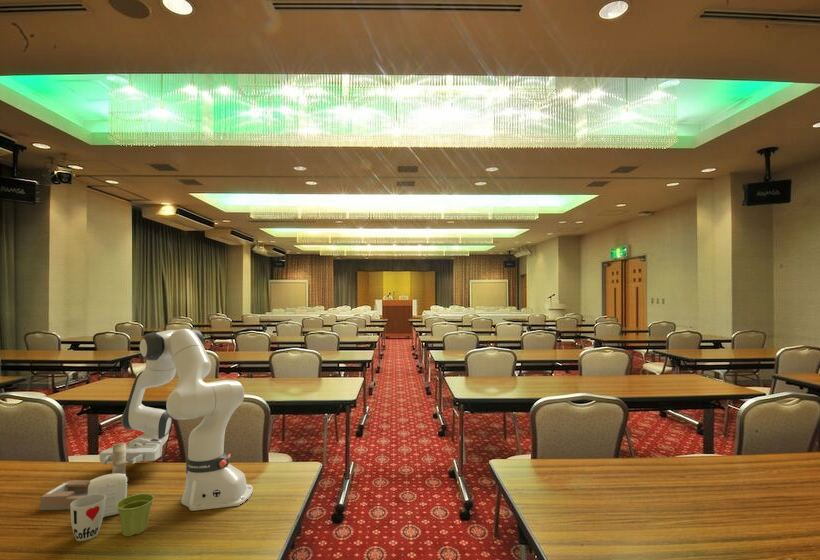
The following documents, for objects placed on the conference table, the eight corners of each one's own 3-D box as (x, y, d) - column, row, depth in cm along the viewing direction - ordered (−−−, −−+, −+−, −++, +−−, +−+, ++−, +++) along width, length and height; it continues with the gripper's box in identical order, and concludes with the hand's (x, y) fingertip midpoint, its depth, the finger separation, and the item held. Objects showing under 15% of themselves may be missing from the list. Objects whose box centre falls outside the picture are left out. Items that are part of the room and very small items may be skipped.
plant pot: (160, 523, 128) (161, 494, 128) (136, 541, 119) (137, 510, 119) (133, 521, 129) (134, 492, 130) (106, 538, 120) (107, 507, 120)
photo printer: (126, 507, 138) (127, 468, 138) (126, 513, 134) (127, 473, 134) (86, 516, 132) (88, 476, 132) (85, 522, 128) (87, 481, 129)
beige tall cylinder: (132, 479, 158) (132, 441, 159) (122, 486, 152) (123, 447, 153) (115, 479, 158) (115, 442, 158) (105, 487, 152) (105, 447, 152)
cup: (64, 546, 116) (66, 509, 116) (74, 531, 123) (75, 496, 124) (100, 540, 119) (101, 504, 119) (107, 525, 126) (108, 491, 127)
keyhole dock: (115, 491, 148) (115, 479, 149) (92, 508, 136) (92, 495, 137) (67, 492, 147) (68, 480, 147) (39, 510, 135) (40, 496, 136)
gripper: (112, 441, 168) (88, 453, 154) (166, 440, 169) (147, 452, 155) (112, 457, 168) (88, 471, 154) (165, 456, 169) (146, 470, 155)
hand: (118, 462), depth 155 cm, fingers open, 8 cm apart
